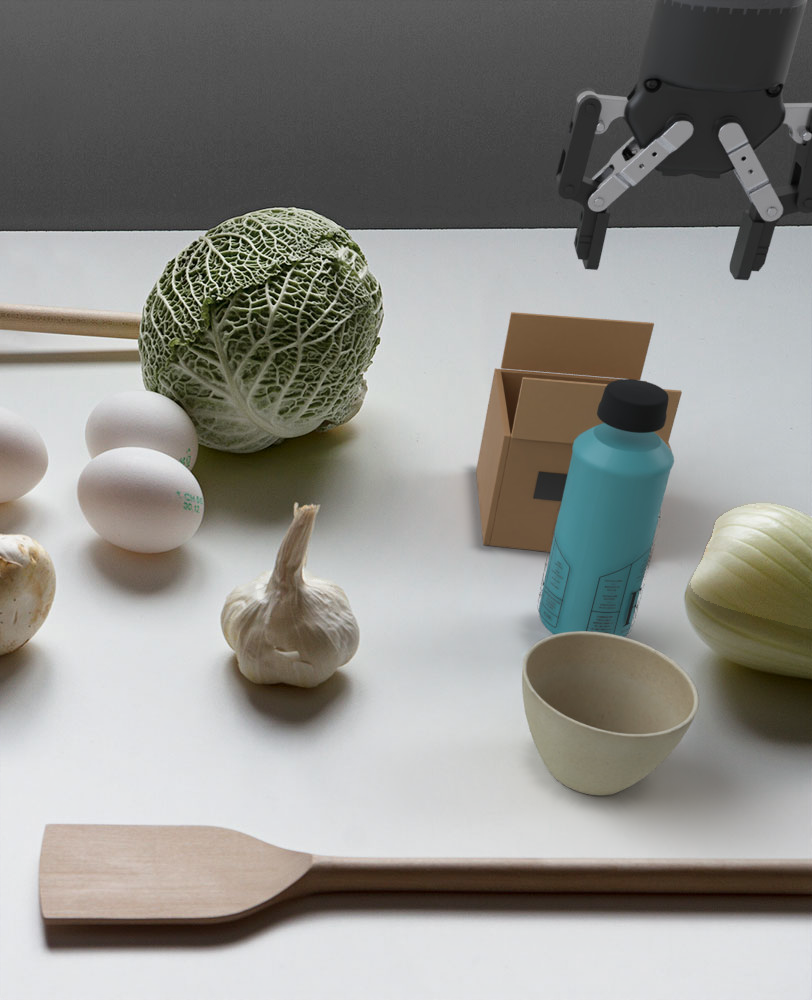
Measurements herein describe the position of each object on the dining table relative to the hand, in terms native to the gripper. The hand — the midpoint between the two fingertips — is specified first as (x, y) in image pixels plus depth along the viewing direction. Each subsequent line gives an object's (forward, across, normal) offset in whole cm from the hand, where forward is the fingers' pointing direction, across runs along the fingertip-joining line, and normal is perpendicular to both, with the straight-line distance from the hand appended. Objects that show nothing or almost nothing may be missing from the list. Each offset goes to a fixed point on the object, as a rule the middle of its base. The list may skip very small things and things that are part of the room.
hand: (663, 270), depth 79 cm
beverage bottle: (+28, 0, 0) cm, 28 cm away
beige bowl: (+28, -1, -14) cm, 31 cm away
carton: (+28, 0, +17) cm, 33 cm away
